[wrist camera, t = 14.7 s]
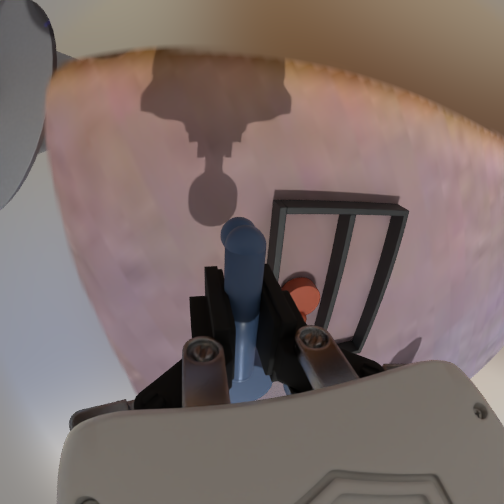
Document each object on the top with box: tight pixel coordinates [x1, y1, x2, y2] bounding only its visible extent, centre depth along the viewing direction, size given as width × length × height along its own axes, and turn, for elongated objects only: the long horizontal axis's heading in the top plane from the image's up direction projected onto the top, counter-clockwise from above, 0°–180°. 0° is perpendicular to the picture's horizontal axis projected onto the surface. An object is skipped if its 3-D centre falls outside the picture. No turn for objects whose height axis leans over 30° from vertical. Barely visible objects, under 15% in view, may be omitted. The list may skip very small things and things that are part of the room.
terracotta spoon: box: [281, 277, 320, 323], centre depth 30 cm, size 4×11×3 cm, turn 176°
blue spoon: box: [221, 217, 272, 404], centre depth 13 cm, size 4×11×3 cm, turn 176°
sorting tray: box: [267, 200, 409, 354], centre depth 30 cm, size 14×20×3 cm
